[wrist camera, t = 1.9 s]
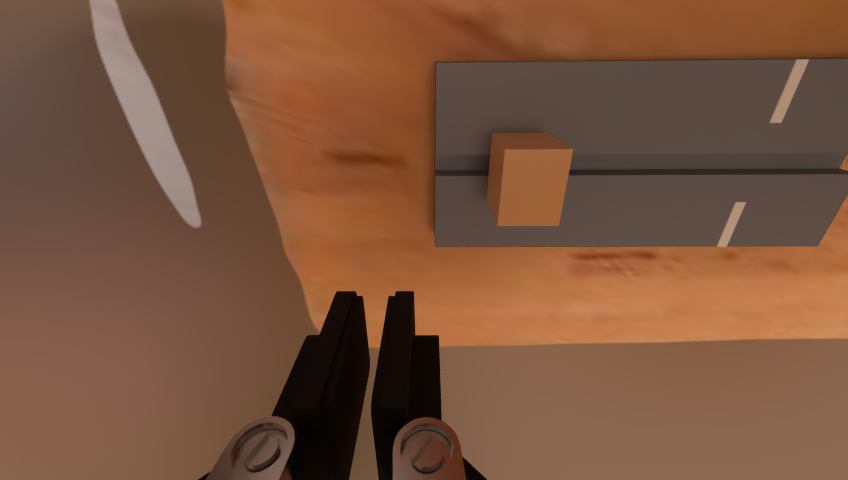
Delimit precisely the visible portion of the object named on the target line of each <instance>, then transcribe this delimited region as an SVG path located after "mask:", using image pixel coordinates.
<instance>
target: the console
mask: <svg viewBox="0 0 848 480" xmlns="http://www.w3.org/2000/svg"><path fill="white" fill-rule="evenodd" d="M544 132H548V133H550V134H551V135H553V136H554V137H556V138H557V139H559V140H560V141H562V142H563V143H565V144H566V145H568V146H569V147H571V148H572V149H573V153H572V159H571V164H570V169H569V175H568V180H567V185H566V191H565V196H564V202H563V207H562V212H561V218H560V223H559V226H497V223H496V221H495V218H494V216H493V213H492V211H491V208H490V206H489V203H488V201H487V188H488V175H489V162H490V149H491V136H492V133H544ZM847 153H848V58H798V59H694V60H590V61H486V62H435V247H644V246H716V247H727V246H818V245H819V243H820V241H821V240H822V238H823V236H824V235H825V233H826V231H827V229H828V228H829V226H830V224H831V222H832V221H833V219H834V217H835V216H836V214H837V212H838V210H839V209H840V207H841V205H842V203H843V202H844V200H845V198H846V196H847V195H848V171H846V170H842V169H839V168H840V166H841V164H842V162H843V160H844V159H845V157H846V155H847Z"/></svg>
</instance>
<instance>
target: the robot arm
mask: <svg viewBox="0 0 848 480" xmlns="http://www.w3.org/2000/svg"><path fill="white" fill-rule="evenodd" d="M369 369H370V357H369V348H368V338H367V329H366V320H365V311H364V302H363V297H362V296H357V294H356V292H355V291H337V292H336V294H335V296H334V299H333V302H332V304H331V307H330V309H329V312H328V314H327V317H326V319H325V322H324V325H323V327H322V330H321V332H320V335H309V336H307V337H306V339H305V341H304V343H303V345H302V347H301V349H300V352H299V354H298V357H297V359H296V361H295V363H294V366H293V368H292V370H291V372H290V375H289V377H288V379H287V382H286V384H285V386H284V388H283V391H282V393H281V395H280V398H279V400H278V402H277V404H276V407H275V409H274V411H273V414H272V416H271V417H263V418H260V419H257V420H254V421H252V422H251V423H249V424H247V425H245V426H244V427H243V428H242V429H240V430H239V431H238V432H237V433H236V434H235V435H234V436H233V438H232V439H231V440H230V441H229V443H228V444H227V446H226V448H225V449H224V451H223V452H222V454H221V456H220V457H219V459H218V461H217V462H216V464H215V465H214V467H213V469H212V471H210V472H209V473H208V474H206V475H204V476H203V477H201V478H200V479H198V480H349V477H350V471H351V466H352V461H353V456H354V450H355V444H356V439H357V434H358V429H359V423H360V418H361V413H362V408H363V403H364V397H365V391H366V386H367V381H368V376H369ZM371 417H372V426H373V434H374V442H375V451H376V459H377V468H378V476H379V480H487V479H486V478H484V476H483V475H481V474H480V473H479V472H478V471H477V470H476V469H475V468H474V467H473V466H472V465H471V464H470V463H468V462H467V460H465V459H464V458H463V457H462V452H461V447H460V443H459V440H458V437H457V435H456V433H455V432H454V431H453V429H452V428H451V427H450V426H449V425H447V424H446V423H445V422H443V421H442V419H441V389H440V358H439V335H415V310H414V291H396V294H395V296H389V298H388V304H387V310H386V316H385V322H384V328H383V334H382V340H381V346H380V351H379V357H378V364H377V369H376V376H375V381H374V387H373V393H372V402H371Z"/></svg>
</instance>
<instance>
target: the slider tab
mask: <svg viewBox="0 0 848 480" xmlns="http://www.w3.org/2000/svg"><path fill="white" fill-rule="evenodd" d="M572 153H573V149H572V148H571V147H569V146H568V145H566V144H565V143H563V142H562V141H560V140H559V139H557V138H556V137H554V136H553V135H551V134H550V133H548V132H544V133H492V136H491V149H490V162H489V175H488V188H487V201H488V203H489V206H490V208H491V211H492V213H493V216H494V218H495V221H496V223H497V226H559V223H560V218H561V212H562V207H563V202H564V196H565V191H566V185H567V180H568V175H569V169H570V164H571V159H572Z"/></svg>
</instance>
